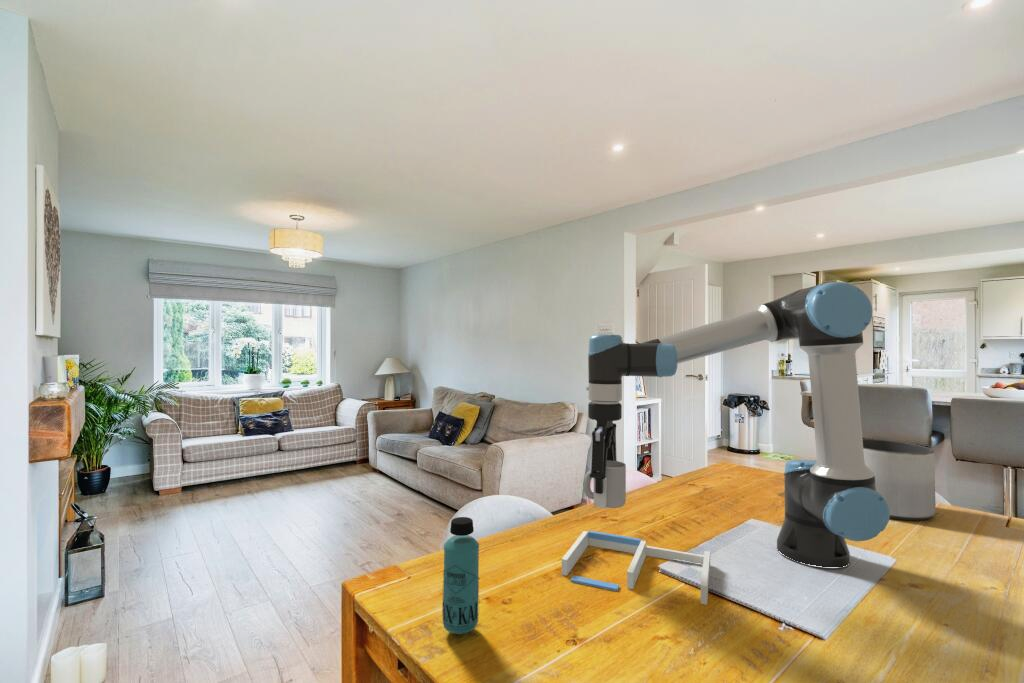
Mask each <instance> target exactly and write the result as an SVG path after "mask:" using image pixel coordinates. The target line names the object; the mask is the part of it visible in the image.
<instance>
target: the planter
mask: <svg viewBox="0 0 1024 683" xmlns="http://www.w3.org/2000/svg"><path fill="white" fill-rule="evenodd" d="M862 439H863V451H864V462H865V465H866V466H867V467H868V468H869V469H870V470H872V471H873V472H874V475H875V486H876V492H878V493H879V494H880V495H882V497H883V498H884V499H885V500H886V502H887V504H888V506H889V510H890V518H889V519H893V520H894V519H895V520H901V521H902V520H903V521H922V520H928V519H930V518H932V517H935V515H936V508H937V507H936V505H937V504H936V476H935V474H936V472H935V471H936V470H935V469H936V468H935V467H936V466H935V464H936V462H935V461H936V460H935V450H934V449H933V448H930V447H927V446H924V445H921V444H920V445H919V444H915V443H910V442H904V441H897V440H888V439H887V440H886V439H877V438H876V439H874V438H872V439H870V438H862Z"/></svg>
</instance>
